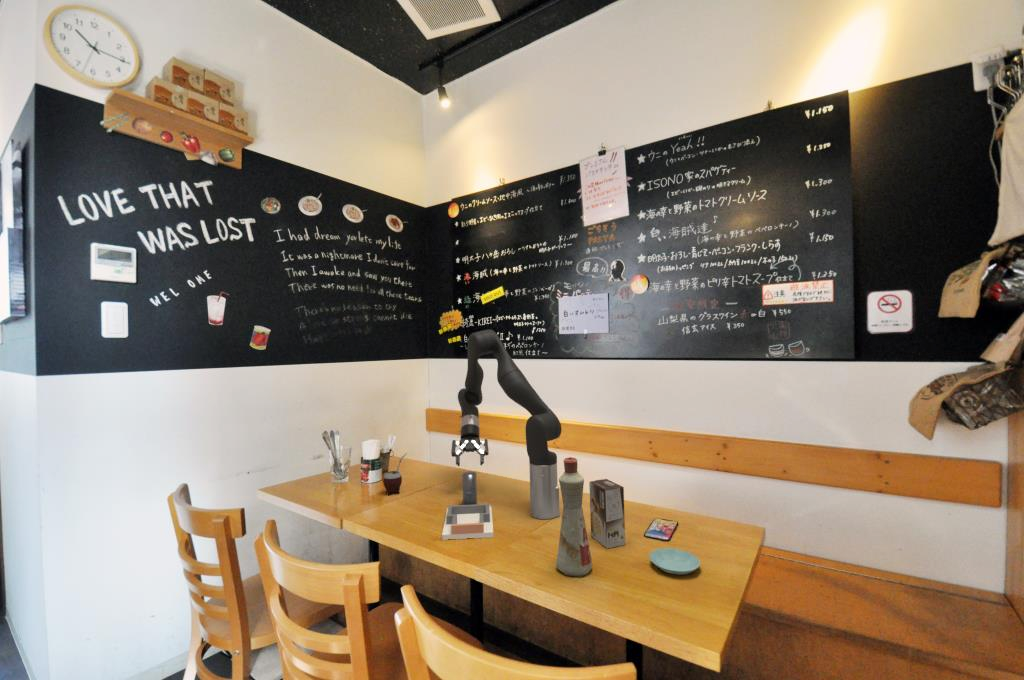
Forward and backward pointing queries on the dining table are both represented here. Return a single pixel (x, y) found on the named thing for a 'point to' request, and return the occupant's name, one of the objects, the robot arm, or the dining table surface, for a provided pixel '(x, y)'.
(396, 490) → the mate gourd
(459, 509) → the keyhole guide
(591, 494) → the coffee box
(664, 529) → the smartphone
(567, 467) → the bottle
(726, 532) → the dining table surface
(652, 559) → the saucer
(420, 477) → the dining table surface
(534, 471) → the robot arm
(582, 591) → the dining table surface
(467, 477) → the metal peg
